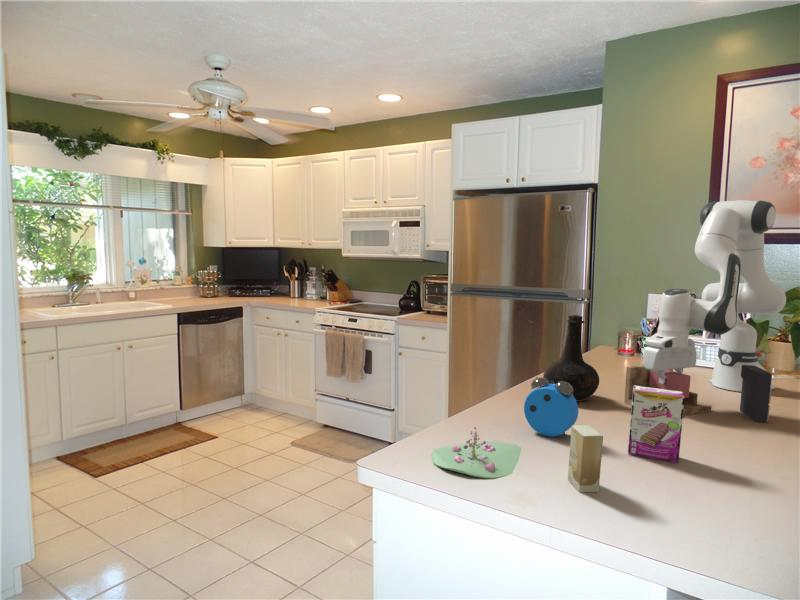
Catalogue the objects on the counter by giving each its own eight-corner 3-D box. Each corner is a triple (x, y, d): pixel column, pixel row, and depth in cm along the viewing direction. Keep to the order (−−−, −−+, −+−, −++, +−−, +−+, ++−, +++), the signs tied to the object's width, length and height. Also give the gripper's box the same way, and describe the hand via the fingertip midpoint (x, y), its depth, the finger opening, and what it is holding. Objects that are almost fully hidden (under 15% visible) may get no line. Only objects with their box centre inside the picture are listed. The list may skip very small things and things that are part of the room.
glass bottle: (539, 401, 168) (543, 316, 165) (545, 387, 184) (549, 310, 182) (597, 408, 161) (603, 320, 158) (598, 394, 178) (603, 314, 175)
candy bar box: (627, 455, 125) (632, 389, 123) (628, 448, 129) (632, 384, 127) (679, 464, 120) (685, 396, 118) (678, 456, 124) (683, 390, 123)
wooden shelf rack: (666, 396, 176) (669, 362, 175) (711, 410, 162) (714, 373, 161) (624, 402, 168) (626, 366, 167) (667, 417, 154) (670, 378, 152)
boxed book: (658, 388, 170) (659, 367, 170) (688, 397, 160) (690, 375, 160) (648, 389, 169) (650, 369, 168) (678, 399, 159) (680, 376, 158)
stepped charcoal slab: (770, 423, 151) (774, 373, 149) (753, 422, 152) (758, 372, 150) (752, 411, 162) (756, 365, 160) (737, 410, 162) (741, 364, 161)
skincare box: (566, 479, 111) (570, 424, 109) (586, 478, 111) (589, 424, 110) (579, 493, 104) (583, 435, 103) (600, 493, 105) (603, 435, 103)
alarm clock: (577, 436, 136) (580, 381, 135) (569, 443, 131) (572, 386, 130) (531, 425, 144) (533, 373, 143) (521, 431, 139) (524, 377, 138)
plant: (469, 434, 138) (470, 401, 137) (542, 454, 125) (544, 418, 124) (414, 463, 118) (415, 425, 117) (494, 491, 106) (496, 448, 105)
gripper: (685, 336, 170) (682, 377, 171) (641, 339, 161) (638, 382, 163) (703, 340, 164) (700, 382, 166) (658, 343, 156) (655, 387, 157)
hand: (669, 382), depth 164 cm, fingers closed on boxed book, 4 cm apart
